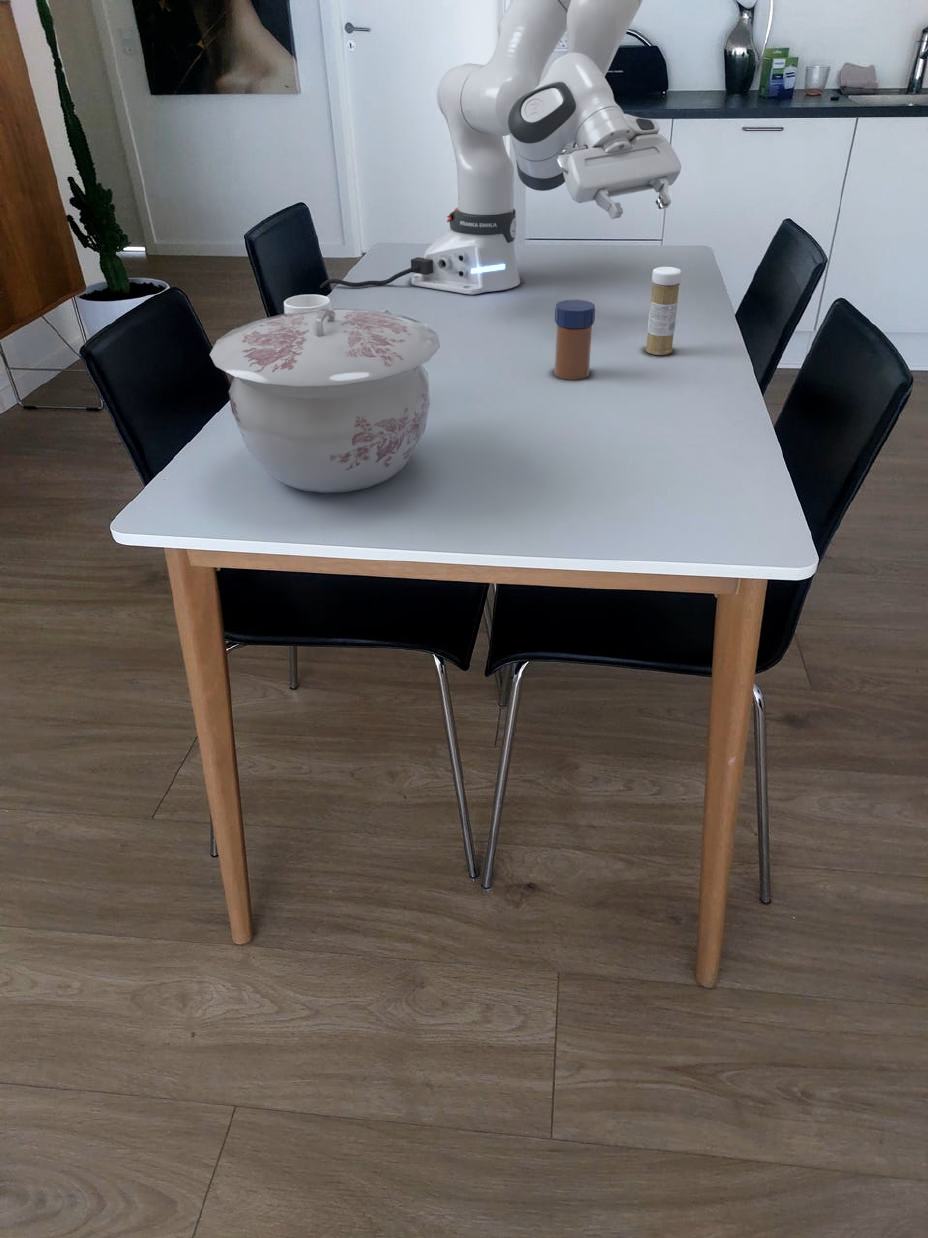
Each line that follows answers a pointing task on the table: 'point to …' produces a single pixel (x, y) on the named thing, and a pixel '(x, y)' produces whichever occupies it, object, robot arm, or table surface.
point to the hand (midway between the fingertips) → (642, 210)
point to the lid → (575, 314)
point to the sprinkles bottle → (663, 310)
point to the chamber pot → (329, 394)
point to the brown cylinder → (572, 352)
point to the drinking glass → (306, 303)
